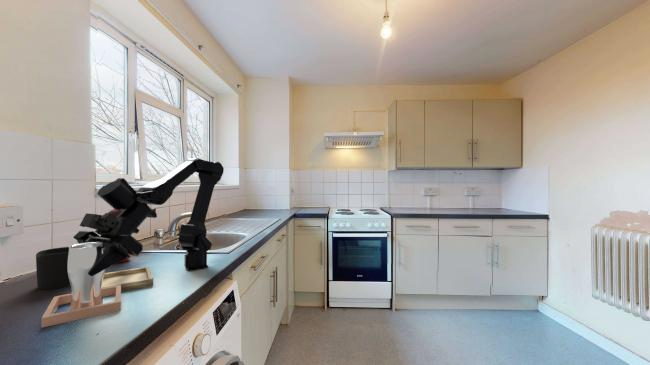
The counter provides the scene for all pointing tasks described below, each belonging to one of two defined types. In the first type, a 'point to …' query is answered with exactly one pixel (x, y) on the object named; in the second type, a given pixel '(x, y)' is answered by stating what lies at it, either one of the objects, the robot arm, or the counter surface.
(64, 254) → the pen holder
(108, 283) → the tray
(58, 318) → the brown square frame
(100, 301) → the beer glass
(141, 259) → the counter surface
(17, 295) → the counter surface
